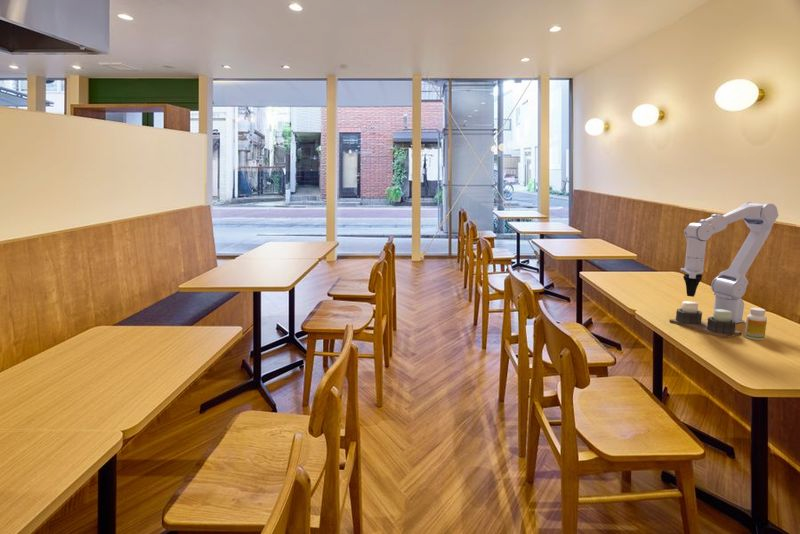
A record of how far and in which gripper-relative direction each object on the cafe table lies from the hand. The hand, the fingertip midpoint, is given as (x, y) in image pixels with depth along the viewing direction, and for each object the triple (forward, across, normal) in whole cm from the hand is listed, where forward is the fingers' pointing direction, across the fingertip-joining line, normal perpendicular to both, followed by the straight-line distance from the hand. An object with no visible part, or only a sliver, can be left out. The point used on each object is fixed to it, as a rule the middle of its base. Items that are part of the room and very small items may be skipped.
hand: (690, 295), depth 181 cm
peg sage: (+6, +7, +10) cm, 14 cm away
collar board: (+10, +3, +5) cm, 12 cm away
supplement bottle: (+11, +7, +19) cm, 23 cm away
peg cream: (+6, 0, 0) cm, 6 cm away
